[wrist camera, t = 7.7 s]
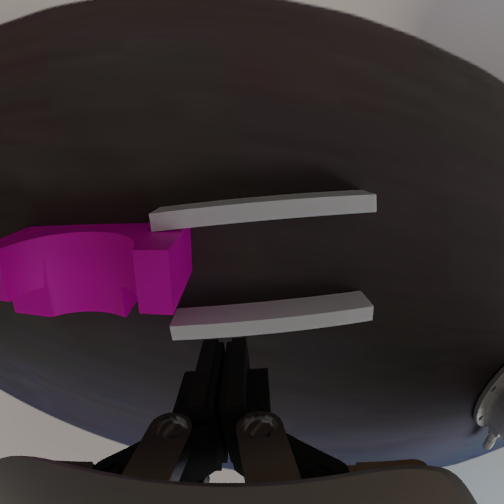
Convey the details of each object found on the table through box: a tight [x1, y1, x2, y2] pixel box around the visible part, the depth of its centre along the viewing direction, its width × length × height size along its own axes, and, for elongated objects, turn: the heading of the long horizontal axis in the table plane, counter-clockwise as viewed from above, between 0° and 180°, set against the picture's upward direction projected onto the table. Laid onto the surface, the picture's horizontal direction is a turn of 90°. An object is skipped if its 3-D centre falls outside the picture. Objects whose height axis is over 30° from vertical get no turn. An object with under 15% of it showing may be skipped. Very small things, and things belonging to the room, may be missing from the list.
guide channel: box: [149, 190, 377, 340], centre depth 23 cm, size 9×15×3 cm, turn 95°
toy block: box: [0, 223, 192, 318], centre depth 20 cm, size 15×6×8 cm, turn 89°
